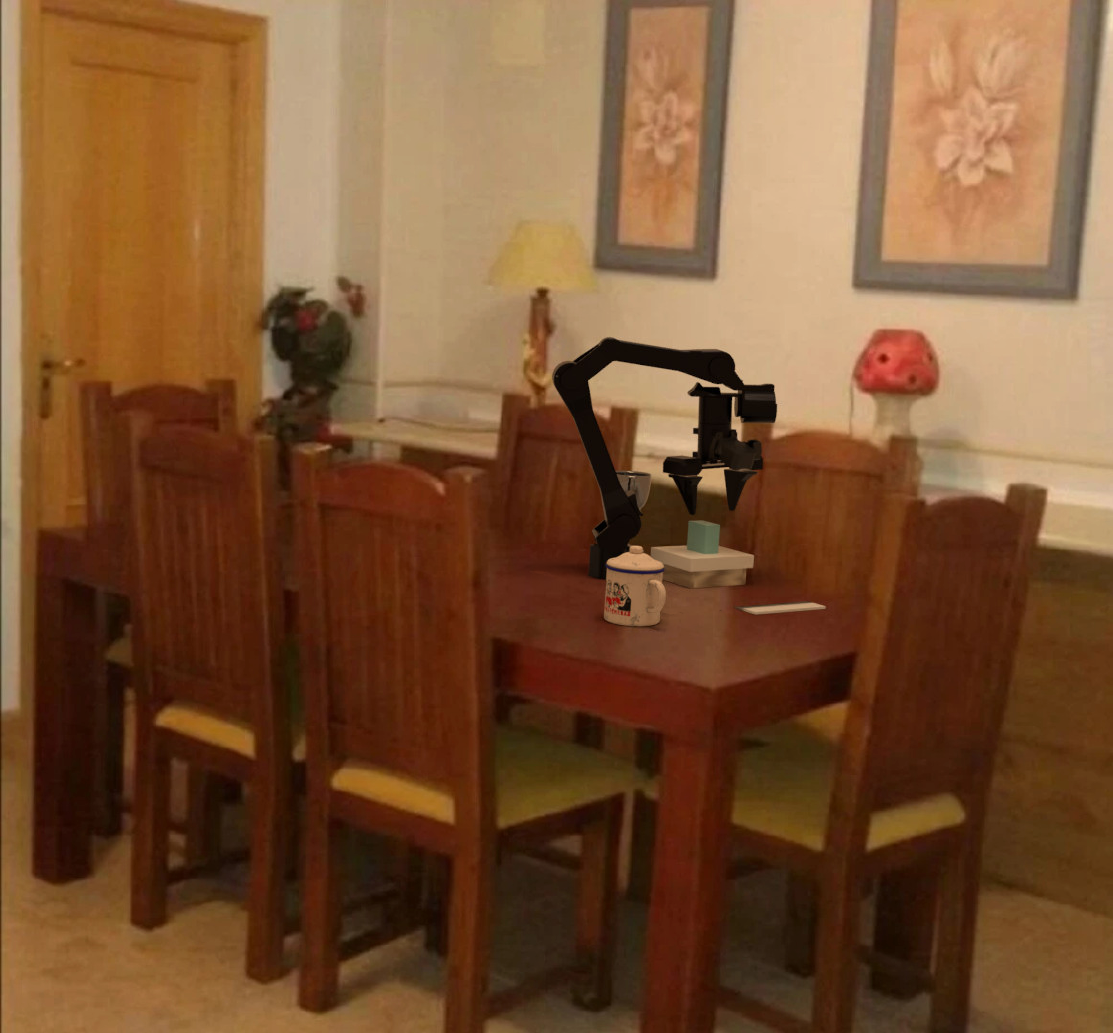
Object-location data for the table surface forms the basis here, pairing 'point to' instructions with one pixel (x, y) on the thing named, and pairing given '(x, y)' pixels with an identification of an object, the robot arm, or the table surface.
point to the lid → (702, 551)
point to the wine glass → (636, 485)
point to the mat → (781, 607)
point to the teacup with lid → (634, 589)
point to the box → (704, 577)
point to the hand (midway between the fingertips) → (712, 512)
